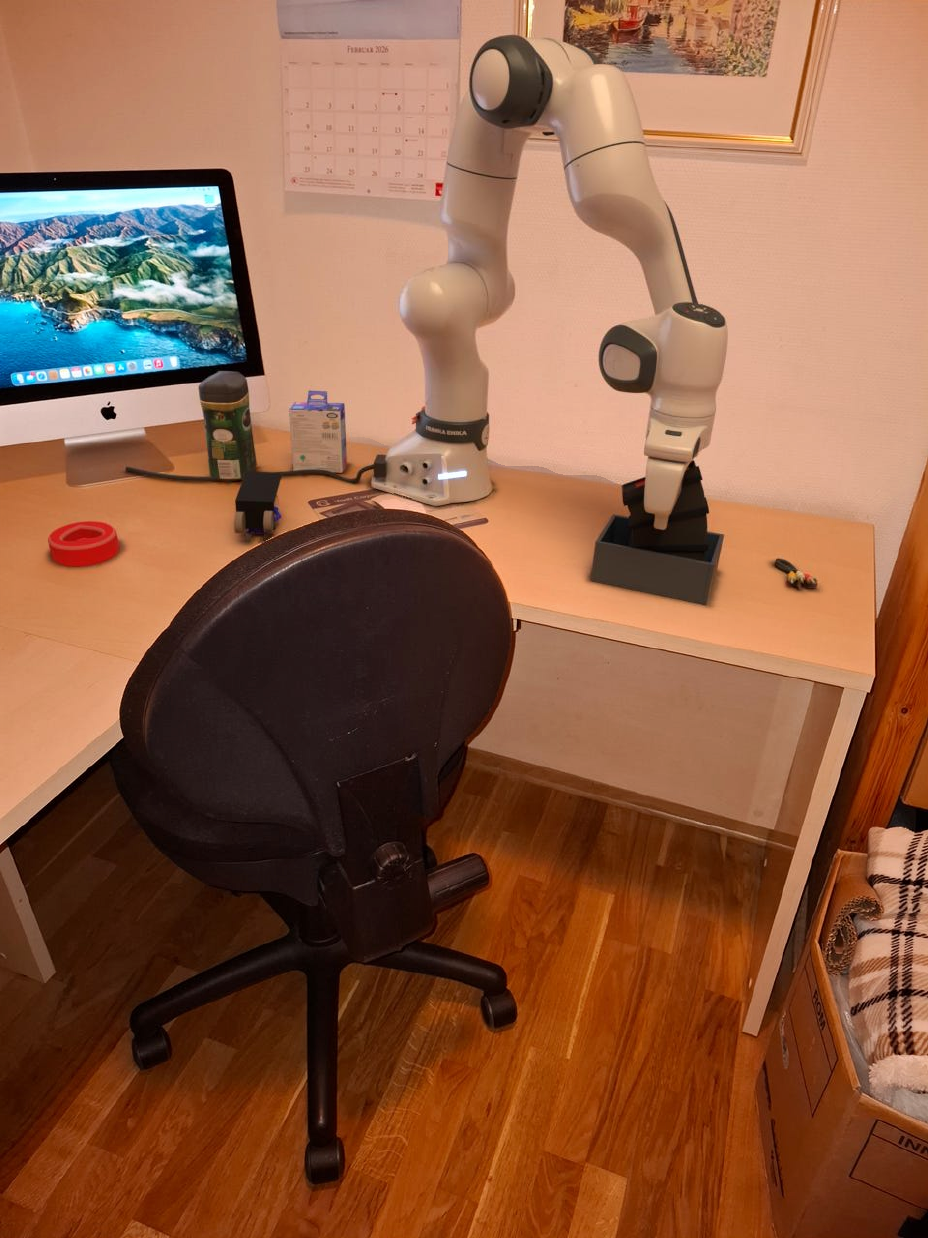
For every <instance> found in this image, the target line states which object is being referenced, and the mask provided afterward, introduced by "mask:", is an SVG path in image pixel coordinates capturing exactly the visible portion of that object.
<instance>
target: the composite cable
mask: <svg viewBox="0 0 928 1238" xmlns="http://www.w3.org/2000/svg"><path fill="white" fill-rule="evenodd" d="M774 561H775V562H774V565H775V566H776V567H777V568H779V569H782V570H783V571H784V572H787V581H788V582H789V583H790V584H792V585H793V586H794V587H796V588H798V590H799V589H801V587H805V588H808V589H814V588H817V586H818V580H817V578H816V577H814V576H812V575H810V574H809V573H804V572H802V571H801V570H798V569H797V568H796V567H795V565H793V564H792V563H791V562H790V561H788V560H786V559H783V558H776V559H775V560H774Z"/></svg>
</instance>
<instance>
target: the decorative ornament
mask: <svg viewBox="0 0 928 1238" xmlns="http://www.w3.org/2000/svg"><path fill="white" fill-rule="evenodd" d="M47 542H48V546H49V551H50V555H51V559H52V560H53V561H54V562H55V563H56V564H58V565H61V566H65V567H87V566H93V565H97V564H101V563H104V562H107V561H109V560H110V559H112V558H114V557H115V556H116V555H117V554H119V552H120V544H119V539H118V533H117V530H116V528H115V527H114V526H113V525H111V524H110V523H106V522H103V521H92V520H90V521H89V520H87V521H85V520H84V521H77V522H73V523H69V524H65V525H62V526H59V527H58V528H56V529H54V530H53V531H52V532H51V533H50V534H49V536H48V537H47Z"/></svg>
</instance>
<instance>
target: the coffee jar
mask: <svg viewBox="0 0 928 1238" xmlns="http://www.w3.org/2000/svg"><path fill="white" fill-rule="evenodd" d="M248 384H249V383H248V379H247V378H246V377H245V376H244V375H243V374H242V373H241V372H239V371H230V370H228V371H227V370H218V371H217V372H216V373H213V374H212V375H209V376H208V377H207V378H205V379H204V380H202V381H201V383H199V384H198V393H199V394H198V395H199V396H198V397H199V403H200V407H201V411H202V416H203V425H204V432H205V441H206V449H207V450H206V451H207V459H208V460H207V463H208V472H209V475H210V476H215V477H217V478H219V479H220V480H221V481H220V482H228V483H229V482H230V483H232V482H237V481H242V480H243V477H244V475H245V472H246V471H254V472H255V470H256V468H257V456H256V455H257V454H256V448H255V441H254V433H253V425H252V420H251V419H252V418H251V417H252V416H251V409H250V392H249V391H250V390H249V385H248Z"/></svg>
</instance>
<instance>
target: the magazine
mask: <svg viewBox="0 0 928 1238" xmlns="http://www.w3.org/2000/svg"><path fill="white" fill-rule="evenodd" d="M695 461H696V460H693V461H691V462H690V464H689V465H688V467H687V468H686V470H685V472H684V476H683V481H682V489H681V492H680V495H679V497H678V499H677V501H676V503H675V505H674V507H673V509H672V512H671V514H670V515H669V520H668V525H667V527H666V529H664V530H661V529H656V528H655V527H654V521H655V514H652V513H648V512H646V511H645V508H644V489H645V476H643V477H641V478H637V479H635V480H631V481H629V482H626V483H623V484H622V485H621V495H622V496H621V497H622V504H623V506H624V507H627V509H628V512H629V515H628V517H629V525H630V529H632V536H629V547H632V548H638V549H643V550H648V551H653V552H658V553H663V554H668V555H674V556H679V557H684V558H689V559H694V560H699V561H703V560H704V553H705V551H708V547H709V543H708V539H707V531H708V514H710V509H709V504H708V500H707V497H706V496H705V490H704V488H703V487H704V486H703V484H702V481H703V475H702V473H701V469H700V466H699V465H696V462H695Z"/></svg>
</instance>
